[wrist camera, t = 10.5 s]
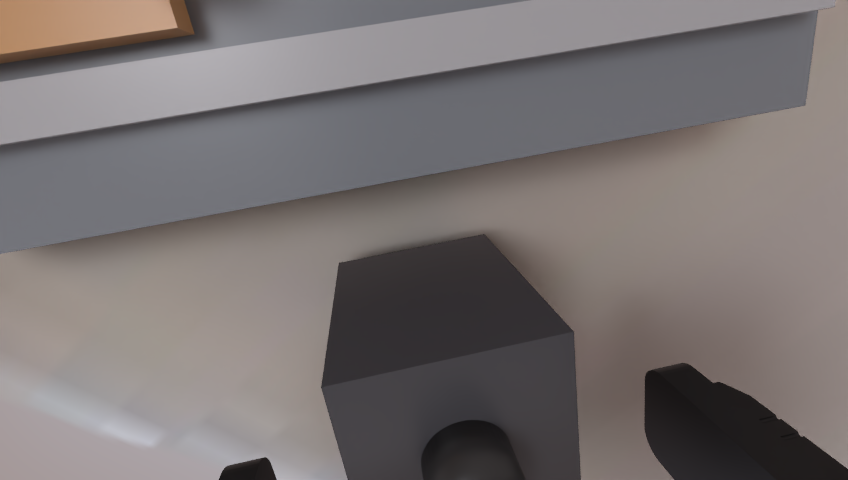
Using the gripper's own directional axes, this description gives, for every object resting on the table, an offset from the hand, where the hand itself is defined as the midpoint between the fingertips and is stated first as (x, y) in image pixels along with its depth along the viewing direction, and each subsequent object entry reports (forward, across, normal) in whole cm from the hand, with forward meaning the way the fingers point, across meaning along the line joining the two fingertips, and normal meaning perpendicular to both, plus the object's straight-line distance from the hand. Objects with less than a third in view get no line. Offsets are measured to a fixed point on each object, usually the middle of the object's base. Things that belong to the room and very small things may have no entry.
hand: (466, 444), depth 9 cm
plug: (+7, 0, 0) cm, 7 cm away
